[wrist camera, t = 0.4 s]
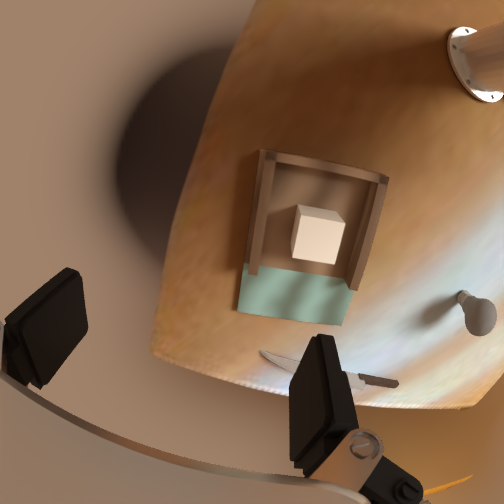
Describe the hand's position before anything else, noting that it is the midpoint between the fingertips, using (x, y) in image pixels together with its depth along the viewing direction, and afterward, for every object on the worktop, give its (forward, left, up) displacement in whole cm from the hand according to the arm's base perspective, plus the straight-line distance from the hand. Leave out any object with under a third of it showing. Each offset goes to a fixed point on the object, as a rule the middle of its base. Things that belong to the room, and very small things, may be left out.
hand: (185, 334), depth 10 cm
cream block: (-9, +3, -26) cm, 28 cm away
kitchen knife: (-20, +28, -28) cm, 44 cm away
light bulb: (-39, +10, -27) cm, 48 cm away
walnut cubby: (-9, +6, -27) cm, 29 cm away
